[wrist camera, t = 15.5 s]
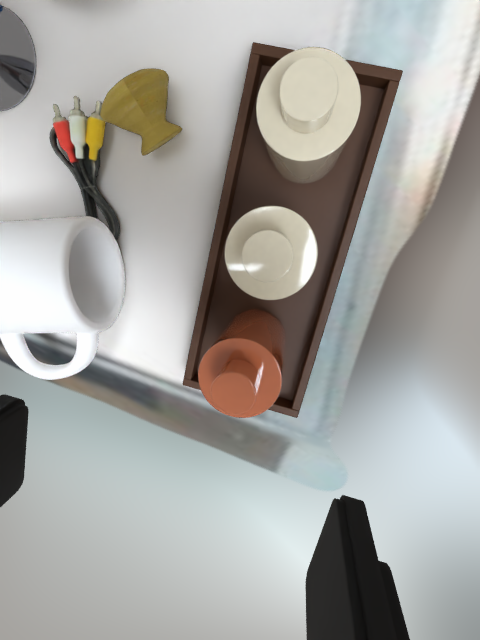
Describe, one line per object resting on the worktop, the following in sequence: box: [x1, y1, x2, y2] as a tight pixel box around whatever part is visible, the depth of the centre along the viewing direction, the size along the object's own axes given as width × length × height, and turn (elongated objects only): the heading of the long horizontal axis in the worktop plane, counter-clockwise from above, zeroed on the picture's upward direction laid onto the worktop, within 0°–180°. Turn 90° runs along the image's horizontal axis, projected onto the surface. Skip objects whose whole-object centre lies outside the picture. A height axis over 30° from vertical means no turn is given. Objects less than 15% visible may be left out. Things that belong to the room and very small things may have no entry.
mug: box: [0, 216, 125, 380], centre depth 27 cm, size 12×10×8 cm
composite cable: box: [50, 96, 120, 240], centre depth 27 cm, size 10×5×2 cm, turn 2°
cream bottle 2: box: [225, 206, 318, 300], centre depth 22 cm, size 5×5×10 cm
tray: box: [183, 42, 403, 418], centre depth 26 cm, size 24×9×2 cm, turn 167°
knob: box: [100, 69, 182, 155], centre depth 24 cm, size 5×5×5 cm
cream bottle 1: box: [256, 47, 361, 184], centre depth 20 cm, size 5×5×10 cm
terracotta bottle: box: [198, 310, 287, 418], centre depth 23 cm, size 5×5×10 cm
